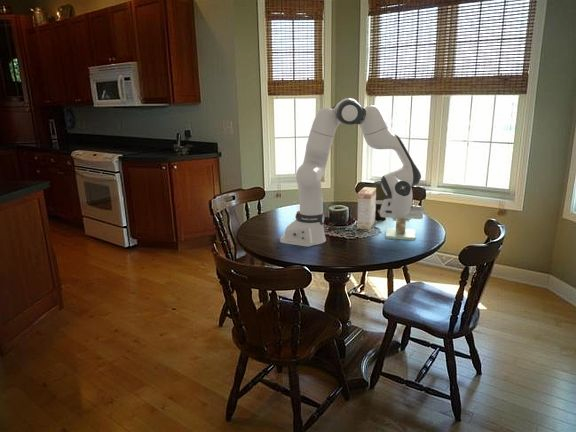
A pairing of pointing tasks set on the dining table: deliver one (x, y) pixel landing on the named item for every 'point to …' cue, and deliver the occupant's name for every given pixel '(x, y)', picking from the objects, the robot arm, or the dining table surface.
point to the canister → (379, 191)
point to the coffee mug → (378, 209)
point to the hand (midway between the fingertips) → (401, 219)
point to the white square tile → (400, 234)
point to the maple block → (400, 225)
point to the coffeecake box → (366, 208)
